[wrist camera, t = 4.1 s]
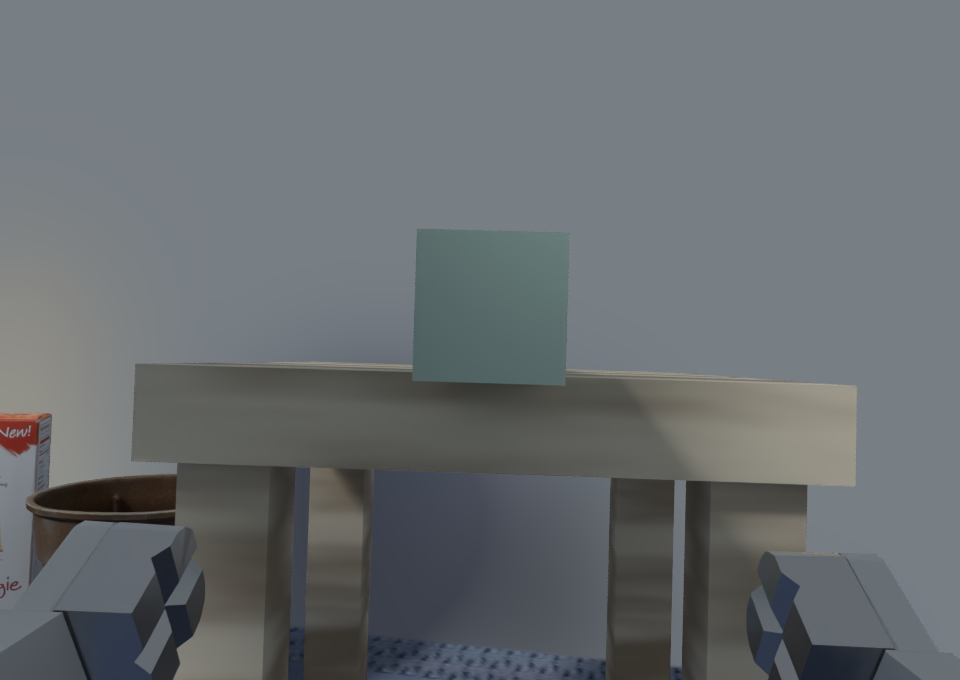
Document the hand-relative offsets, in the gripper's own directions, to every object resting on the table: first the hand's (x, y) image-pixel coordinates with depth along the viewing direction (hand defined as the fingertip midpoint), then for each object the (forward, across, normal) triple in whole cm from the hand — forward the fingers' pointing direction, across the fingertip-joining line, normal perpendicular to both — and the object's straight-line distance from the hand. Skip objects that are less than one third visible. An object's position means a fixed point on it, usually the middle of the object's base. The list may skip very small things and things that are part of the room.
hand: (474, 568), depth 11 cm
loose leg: (+14, 0, +5) cm, 15 cm away
